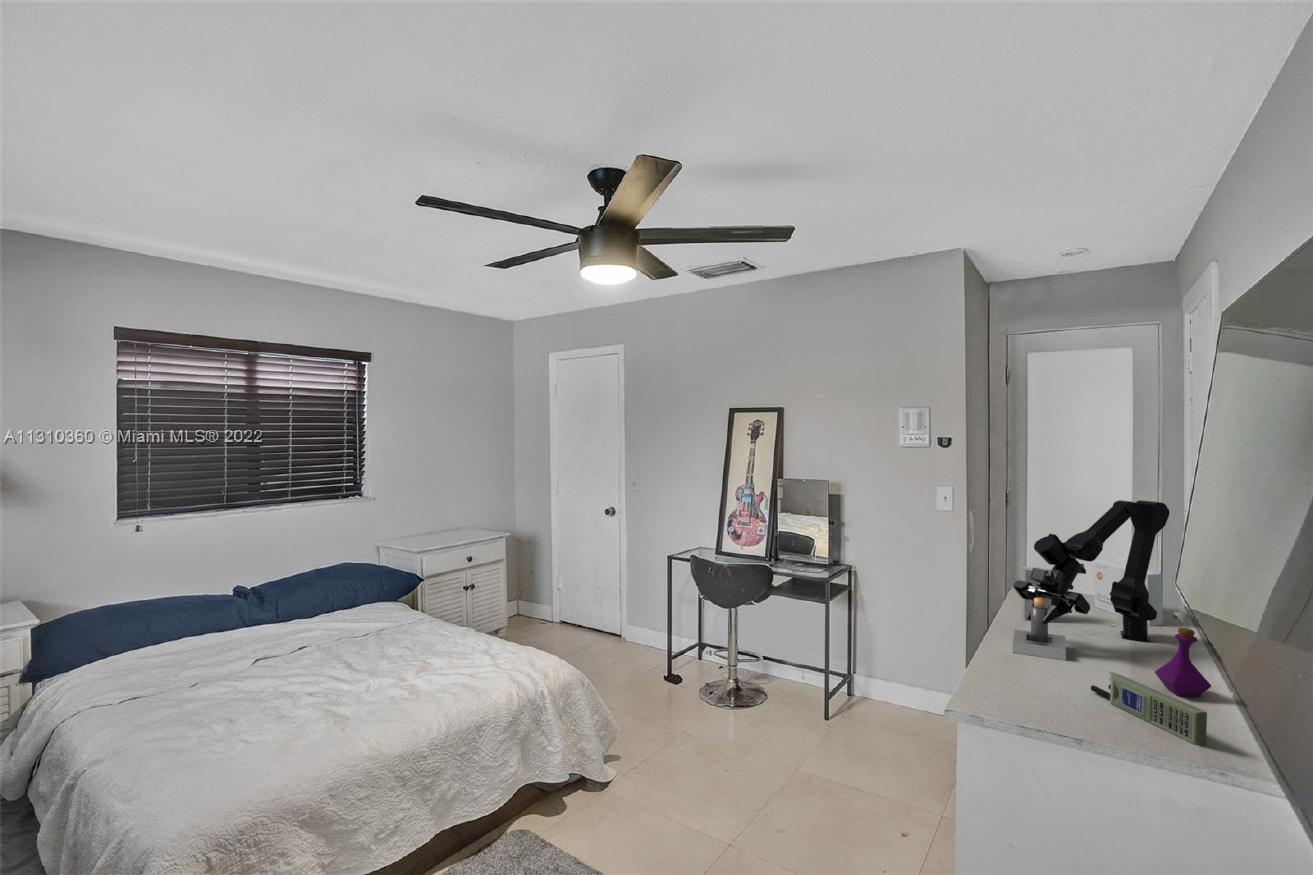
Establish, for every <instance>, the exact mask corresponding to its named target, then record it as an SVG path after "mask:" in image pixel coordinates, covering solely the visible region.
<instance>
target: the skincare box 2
mask: <svg viewBox="0 0 1313 875" xmlns="http://www.w3.org/2000/svg"><path fill="white" fill-rule="evenodd" d="M1125 568H1126V564H1125V563H1120V562H1117V561H1113V560H1109V559H1099V560H1096V559H1095V560H1093V579H1094V580H1093V582H1094V603H1095V604H1094V607H1095V608H1098V609H1100V610H1103V611H1106V612H1109V613H1111V614H1115V615H1117V616H1120V617H1123V614H1121V613H1116V612H1115V610H1114V607H1113V604H1112V602H1111V599H1110V598H1111V595H1109V594H1110V592H1111V590H1112V583H1113V582H1114V581H1115V582H1119V581H1120V580H1121V579H1122V578H1123V577H1124V573H1125ZM1162 581H1163V575H1162V573H1160V572H1156V571H1153V570H1150V569H1148V571H1147V575H1146V579H1145V585H1146V588H1147V590H1148V593H1149V601H1148V602H1149V604H1150V605H1151V606H1152V607H1153V608H1154V609H1155V610H1156V611H1157V616H1156V619H1153V620H1152V621H1149V620H1148V627H1150V626H1163V625H1164V611H1163V610H1164V609H1163V608H1164V606H1163V605H1164V603H1163V602H1164V601H1163V599H1164V598H1163V597H1164V596H1163V582H1162Z"/></svg>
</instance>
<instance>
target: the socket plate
mask: <svg viewBox="0 0 1313 875" xmlns="http://www.w3.org/2000/svg"><path fill="white" fill-rule="evenodd" d="M1066 646H1067V644H1066V635H1058V634H1052V633H1051V634H1050V633H1048V643H1043V642H1036V641H1031V630H1030V631H1029V630H1021V629H1014V634H1013V639H1012V653H1013V652H1015V653H1014V654H1019V655H1025V656H1026V655H1027V656H1031V657H1032V656H1033V657H1039V658H1046V659H1053V660H1058V661H1067V647H1066Z"/></svg>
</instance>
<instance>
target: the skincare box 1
mask: <svg viewBox="0 0 1313 875" xmlns="http://www.w3.org/2000/svg"><path fill="white" fill-rule="evenodd" d="M1033 568H1038V569H1043V570H1047V571H1051V570H1052V569H1051V568H1044V567H1043V568H1041V567H1036V566H1035V567H1032V566H1021V570H1022V571H1021V576H1022V577H1021V581H1025V582H1030V583H1031V584H1032V585H1033V587H1035V588H1037V589H1039V590H1040V589H1041V587H1038V585H1037V581H1035V580H1031V579H1030V577H1031V573H1032V570H1033ZM1041 598H1042V597H1041ZM1043 599H1044V607H1046V608H1048V609H1049V607H1050V606H1051V601H1052V600H1051V599H1046V598H1043ZM1027 613H1028V600H1026V599H1023V598H1021V615H1022V617H1023V618H1024V620H1025V621H1029V620H1028V618H1027ZM1054 620H1055V619H1054ZM1054 620H1052V621H1050V622H1049V623H1054Z"/></svg>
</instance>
